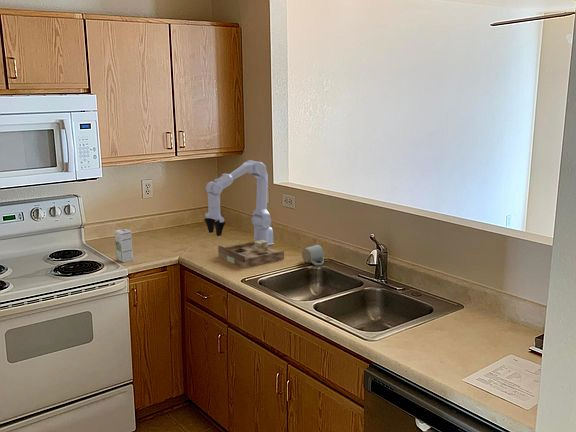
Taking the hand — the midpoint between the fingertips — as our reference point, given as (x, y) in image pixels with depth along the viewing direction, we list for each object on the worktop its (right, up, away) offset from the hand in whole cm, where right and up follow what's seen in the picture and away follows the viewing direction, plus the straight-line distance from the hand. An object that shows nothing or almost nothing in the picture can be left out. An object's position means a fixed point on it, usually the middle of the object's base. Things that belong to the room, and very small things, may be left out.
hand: (215, 234), depth 279 cm
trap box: (+18, -11, -4) cm, 21 cm away
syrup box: (-42, -12, -8) cm, 44 cm away
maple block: (+23, -8, -1) cm, 24 cm away
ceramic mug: (+48, -13, -10) cm, 51 cm away
